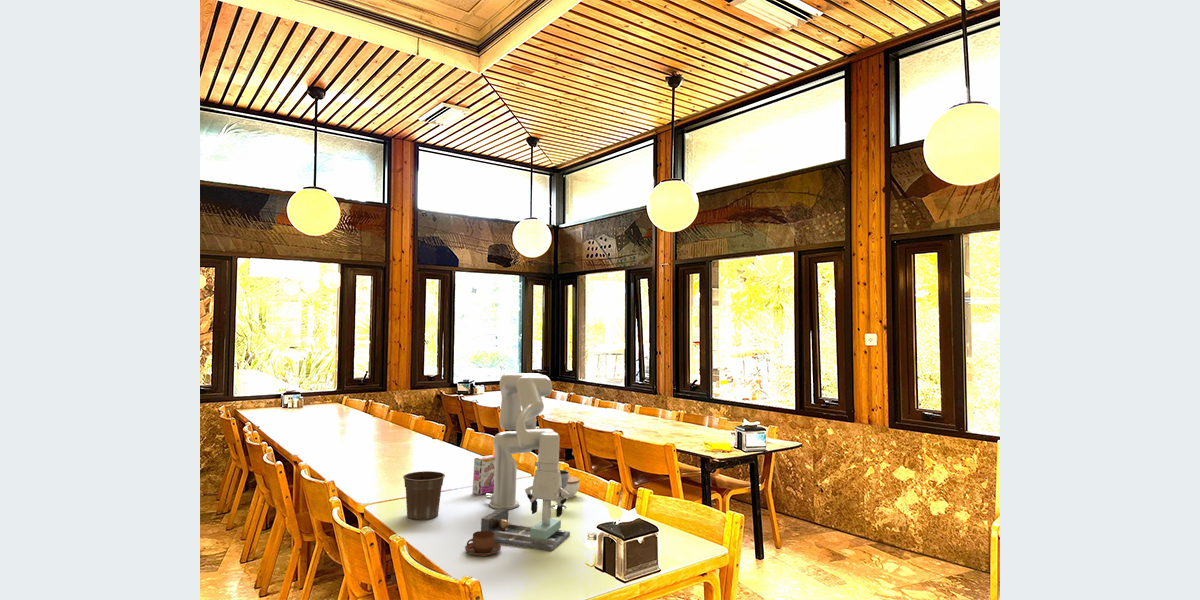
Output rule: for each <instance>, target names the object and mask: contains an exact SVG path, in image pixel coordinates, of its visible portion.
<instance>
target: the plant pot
mask: <svg viewBox="0 0 1200 600" xmlns="http://www.w3.org/2000/svg"><path fill="white" fill-rule="evenodd" d="M445 476H446V475H445V473H443V472H440V471H429V470H428V471H427V470H426V471H415V472H413V471H412V472H409V473H405V474H404V475H402V478H403V480H404V481H403V482H404V487H405V499H406V501H405V503H406V517H407V518H408V519H411V520H416V519H417V520H420V521H422V520H423V521H424V520H430V519H433V518H434V519H435V518H436V517H437V516H439V511H440V504H441V503H440V502H441V494H442V486H443V484H444V478H445Z"/></svg>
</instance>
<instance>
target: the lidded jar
mask: <svg viewBox="0 0 1200 600" xmlns="http://www.w3.org/2000/svg"><path fill="white" fill-rule="evenodd" d="M580 481H581V480H580V478H578V477H576V476H569V478H568V483H567V485H566V487H565V488H564V490H566V491H567V492H568V493H570V496H569V497H570V498H574V497H575V496H576V494H577V493H578V492H579V488H580ZM573 496H574V497H573ZM564 497H565V495H563V494H562V495H561V498H564Z"/></svg>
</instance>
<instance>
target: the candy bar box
mask: <svg viewBox="0 0 1200 600" xmlns="http://www.w3.org/2000/svg"><path fill="white" fill-rule="evenodd" d="M494 472H495V454H493V455H492V454H491V455H484V456H479V457H474V460H473V480H472V494H473V495H477V496H481V495H486V494H491V493H494Z"/></svg>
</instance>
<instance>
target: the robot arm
mask: <svg viewBox="0 0 1200 600" xmlns="http://www.w3.org/2000/svg"><path fill="white" fill-rule="evenodd" d="M499 389H500V393H501V402H500V403H501V404H500V412H499V426H500V428H501V429H502V430H506V431H501V432H498V433H496V434H495V436H494V438H493V451H494V456H495V472H494V492H493V494H492V493H486V494H485V500H490V502H489V505H488V506H489V507H490V508H492V509H494V510H495V509H496V510H497V509H499V508H501V507H504V508H509V510H513V509H516V508H518V507H519V505H520V502H519V501H517V500H516V498H517V497H516V494H517V471H518V465H517V462H516V460H515V458H514V457H513V456H512V455H516V454H528V453H530V452H532V451H533V450H538V456H537V461H535V462H534V466H535V467H536V468H537V469H535V472H534V475H533V482H532V485H531V486H529V487H527V488H525V489H524V491H525V494H526V496H527V498H528V499H529V502H530V510H531V514H532V515H534V514H536V513H537V512H538V500H542V501H543V500H551V502H552V501H555V502H556V505H557V504H558V506H557V509H555V510H556V514H555V516H556V518H560V517H561V516H562V515H563V509H562V507H563V505H564V504H565V503H566V502H567V501H568V500H569V496H570V493H568V492H567V491H566V490H564V489H563V488H562V482H561V474H560V471H559V470H560V469H559V466H560V465H559V463H560V442H561V441H560V438H561V437H560V434H559V433H558V432H555V430H554V429H552V428H536V427H537V416H538V415H540V414H541V413H542V412H543V411H544V407H545V405H544V402H543V399H542V397H549V396H550V395H551V394H552V392H553V384H552V380H551V379H550V377H548V376H547V375H545V374H542V373H534V372H527V373H525V372H507V373H504V374H502V375H501V377H500V380H499ZM562 494H563V495H565V497H561V495H562ZM562 498H563V499H562Z"/></svg>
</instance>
